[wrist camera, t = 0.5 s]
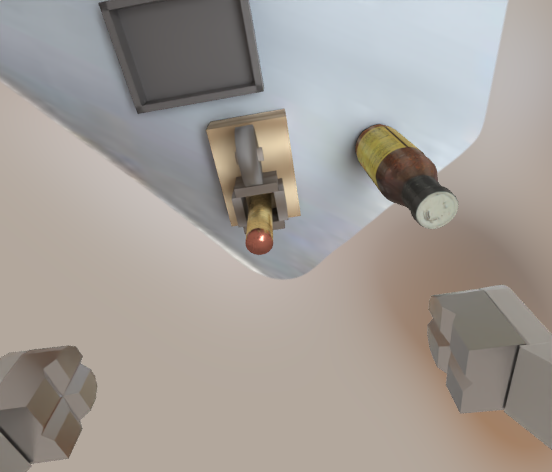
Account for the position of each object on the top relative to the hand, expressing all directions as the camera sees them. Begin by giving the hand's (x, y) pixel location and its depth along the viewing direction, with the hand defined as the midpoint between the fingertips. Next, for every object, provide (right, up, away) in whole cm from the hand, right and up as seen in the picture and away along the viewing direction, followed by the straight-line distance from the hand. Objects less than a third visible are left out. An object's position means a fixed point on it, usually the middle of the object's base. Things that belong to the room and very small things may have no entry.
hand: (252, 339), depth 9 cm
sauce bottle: (+15, +15, +43) cm, 48 cm away
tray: (-10, +25, +36) cm, 45 cm away
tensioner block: (-2, +13, +44) cm, 46 cm away
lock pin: (-1, +8, +42) cm, 43 cm away
